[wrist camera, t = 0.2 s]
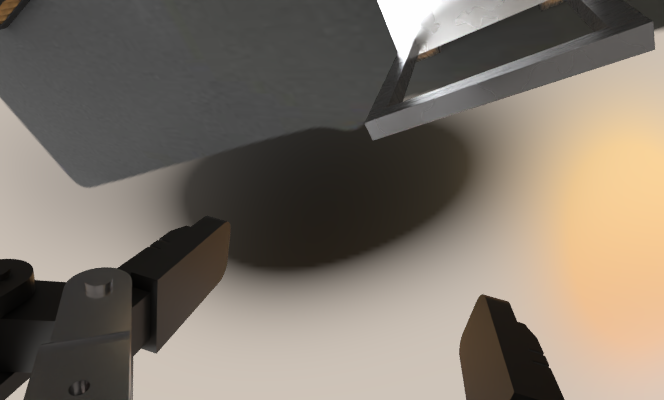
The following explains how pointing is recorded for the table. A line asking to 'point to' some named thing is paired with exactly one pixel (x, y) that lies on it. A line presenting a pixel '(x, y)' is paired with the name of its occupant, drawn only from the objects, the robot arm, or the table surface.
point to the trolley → (516, 77)
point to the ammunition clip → (10, 11)
